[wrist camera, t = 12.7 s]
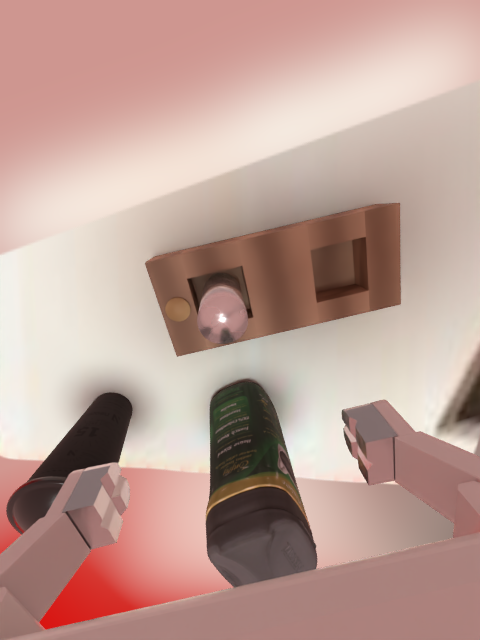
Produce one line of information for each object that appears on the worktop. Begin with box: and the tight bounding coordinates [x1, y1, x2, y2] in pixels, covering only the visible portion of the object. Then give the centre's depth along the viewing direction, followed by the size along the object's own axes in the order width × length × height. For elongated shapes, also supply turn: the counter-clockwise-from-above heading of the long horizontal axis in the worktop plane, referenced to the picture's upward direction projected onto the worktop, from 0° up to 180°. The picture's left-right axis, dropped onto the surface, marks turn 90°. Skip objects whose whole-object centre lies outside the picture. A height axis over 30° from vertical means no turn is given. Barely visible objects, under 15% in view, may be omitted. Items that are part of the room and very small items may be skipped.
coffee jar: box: [206, 382, 317, 587], centre depth 29 cm, size 10×8×19 cm
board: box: [145, 203, 401, 356], centre depth 29 cm, size 24×10×4 cm, turn 102°
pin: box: [197, 273, 248, 344], centre depth 26 cm, size 4×4×9 cm
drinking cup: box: [6, 393, 132, 534], centre depth 27 cm, size 8×8×20 cm
